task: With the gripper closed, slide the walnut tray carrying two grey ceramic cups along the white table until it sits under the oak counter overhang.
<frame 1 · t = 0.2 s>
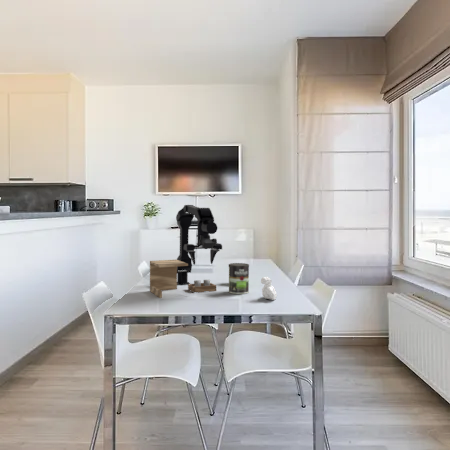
hand: (203, 264, 196), 14 cm above the table, tool pointing down, fingers open, 9 cm apart
duck figurine: (268, 299, 183), on the table
coffee can: (238, 292, 198), on the table
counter: (168, 293, 195), on the table
tray: (202, 290, 202), on the table
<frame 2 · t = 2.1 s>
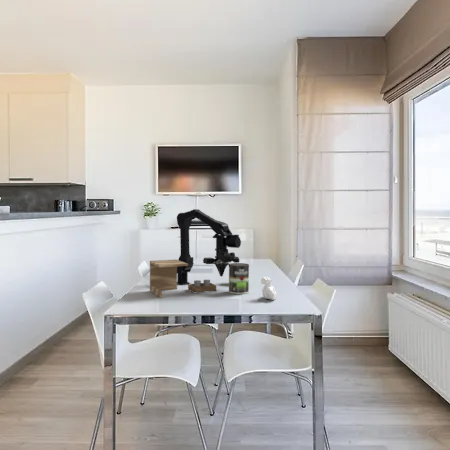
hand: (221, 276, 207), 6 cm above the table, tool pointing down, fingers closed
nothing on the table moved.
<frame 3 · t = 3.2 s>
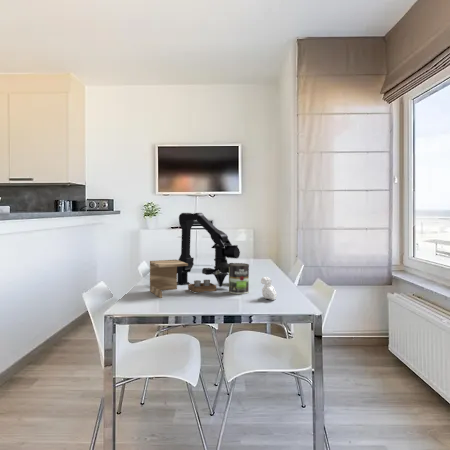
hand: (220, 286, 207), 1 cm above the table, tool pointing down, fingers closed
nothing on the table moved.
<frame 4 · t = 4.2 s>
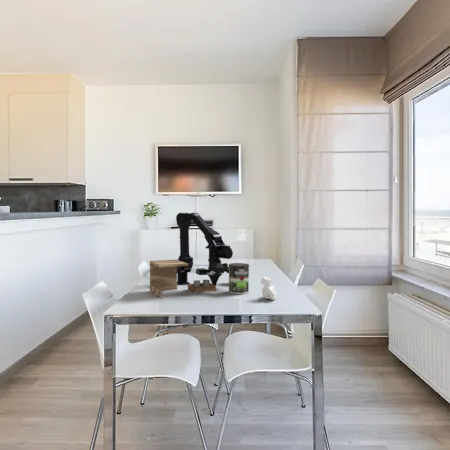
hand: (214, 287, 205), 1 cm above the table, tool pointing down, fingers closed
tray: (201, 290, 202), on the table, touching gripper
everything else where it was.
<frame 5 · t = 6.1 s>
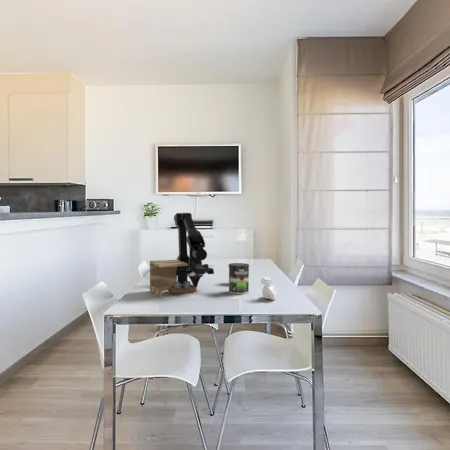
hand: (195, 288, 201), 1 cm above the table, tool pointing down, fingers closed
tray: (182, 292, 197), on the table, touching gripper
everything else where it was.
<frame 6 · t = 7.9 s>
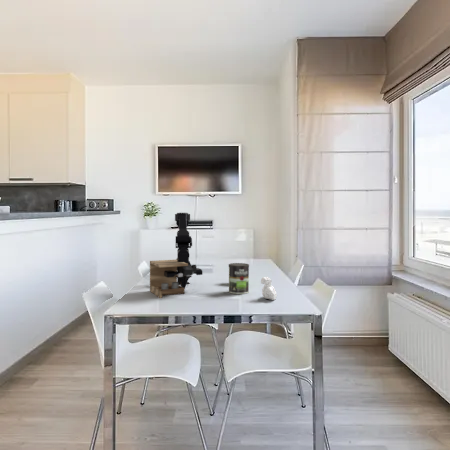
hand: (183, 289, 198), 1 cm above the table, tool pointing down, fingers closed
tray: (170, 293, 195), on the table, touching gripper
everything else where it was.
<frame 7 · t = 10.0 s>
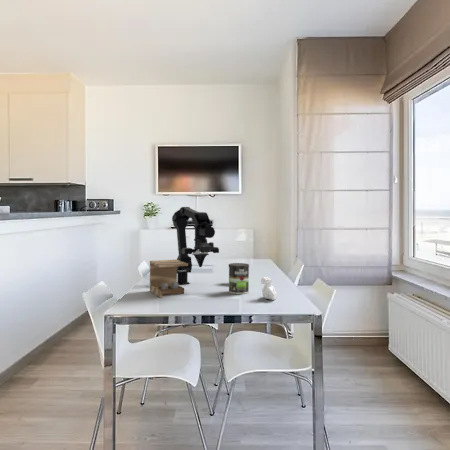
hand: (200, 267, 202), 12 cm above the table, tool pointing down, fingers closed
tray: (169, 293, 195), on the table
everything else where it was.
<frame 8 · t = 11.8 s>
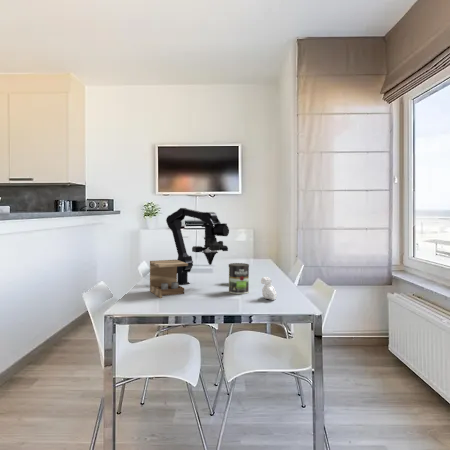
hand: (210, 264, 210), 12 cm above the table, tool pointing down, fingers closed
nothing on the table moved.
at the end: tray inside the target area (0.1 cm from its centre), on the table; tray tilted 0° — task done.
